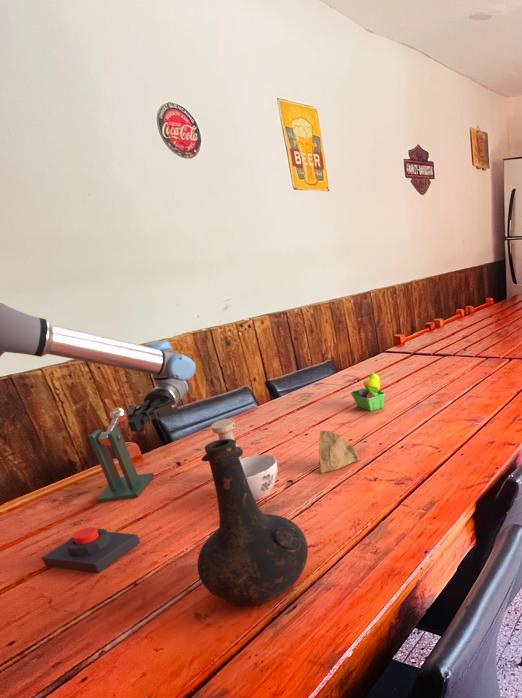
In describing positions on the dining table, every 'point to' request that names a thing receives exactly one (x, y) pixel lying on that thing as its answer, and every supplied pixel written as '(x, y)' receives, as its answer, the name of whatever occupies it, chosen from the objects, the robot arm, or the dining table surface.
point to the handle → (224, 429)
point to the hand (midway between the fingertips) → (133, 426)
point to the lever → (112, 425)
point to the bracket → (118, 485)
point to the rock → (335, 452)
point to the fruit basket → (369, 394)
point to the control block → (92, 552)
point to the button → (85, 536)
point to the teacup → (260, 474)
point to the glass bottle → (247, 538)
